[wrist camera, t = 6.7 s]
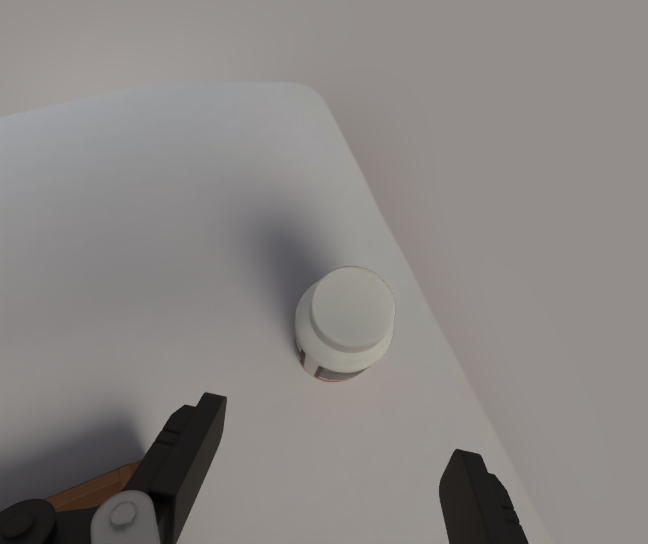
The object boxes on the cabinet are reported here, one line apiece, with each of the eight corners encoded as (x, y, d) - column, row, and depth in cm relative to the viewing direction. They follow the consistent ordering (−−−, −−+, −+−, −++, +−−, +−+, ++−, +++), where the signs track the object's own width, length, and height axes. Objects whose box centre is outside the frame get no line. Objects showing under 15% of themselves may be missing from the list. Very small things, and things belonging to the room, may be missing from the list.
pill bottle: (383, 336, 26) (431, 293, 17) (342, 400, 24) (372, 390, 15) (322, 294, 27) (337, 232, 18) (278, 353, 25) (270, 317, 16)
